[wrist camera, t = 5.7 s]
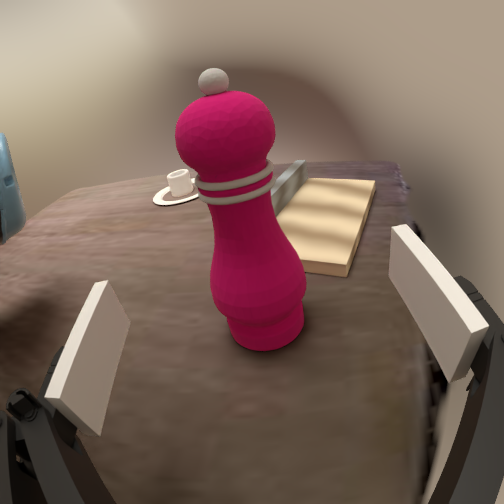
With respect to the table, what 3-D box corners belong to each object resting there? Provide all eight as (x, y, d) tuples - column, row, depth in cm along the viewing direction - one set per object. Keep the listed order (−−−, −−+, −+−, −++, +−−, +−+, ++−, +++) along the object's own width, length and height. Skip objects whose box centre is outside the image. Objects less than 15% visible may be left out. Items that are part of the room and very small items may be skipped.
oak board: (346, 277, 30) (345, 236, 27) (237, 262, 35) (228, 227, 33) (375, 190, 45) (374, 161, 42) (300, 186, 50) (296, 160, 48)
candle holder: (205, 176, 65) (200, 157, 63) (223, 192, 55) (218, 169, 53) (151, 195, 62) (144, 176, 60) (158, 215, 53) (150, 192, 50)
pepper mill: (250, 289, 31) (198, 73, 20) (321, 303, 27) (291, 55, 17) (209, 343, 26) (124, 92, 15) (289, 367, 22) (230, 60, 12)
